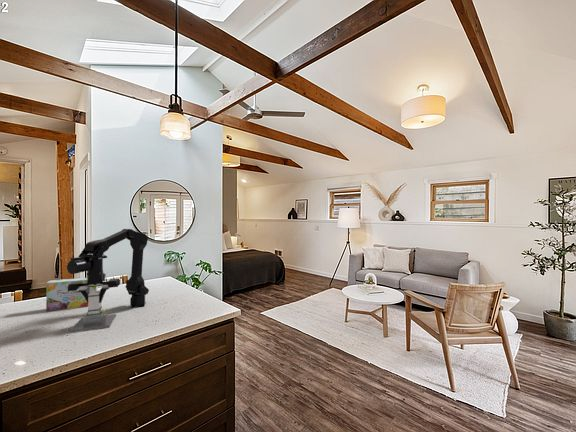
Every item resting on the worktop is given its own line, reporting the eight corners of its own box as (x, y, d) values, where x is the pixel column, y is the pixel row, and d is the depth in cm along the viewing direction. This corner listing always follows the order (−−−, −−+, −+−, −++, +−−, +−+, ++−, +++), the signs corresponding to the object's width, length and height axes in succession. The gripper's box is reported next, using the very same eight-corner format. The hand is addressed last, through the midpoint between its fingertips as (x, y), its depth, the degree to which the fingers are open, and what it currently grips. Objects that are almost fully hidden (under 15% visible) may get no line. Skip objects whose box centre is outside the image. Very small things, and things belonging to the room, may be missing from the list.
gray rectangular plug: (102, 311, 123) (102, 290, 123) (99, 314, 119) (99, 292, 119) (90, 312, 121) (90, 291, 121) (87, 316, 117) (87, 293, 117)
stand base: (116, 316, 129) (116, 304, 129) (109, 327, 116) (109, 314, 116) (81, 320, 124) (81, 307, 124) (70, 332, 111) (70, 319, 111)
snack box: (45, 312, 134) (45, 282, 134) (49, 308, 139) (49, 280, 139) (96, 305, 144) (96, 278, 143) (98, 302, 149) (98, 276, 148)
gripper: (122, 264, 131) (122, 295, 131) (76, 267, 124) (76, 300, 124) (117, 269, 121) (117, 302, 121) (67, 272, 113) (67, 308, 114)
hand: (95, 303), depth 120 cm, fingers closed on gray rectangular plug, 4 cm apart
